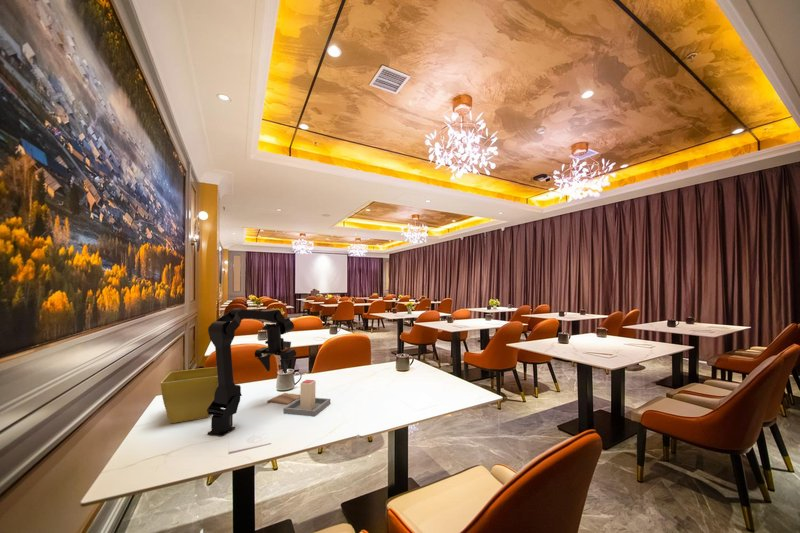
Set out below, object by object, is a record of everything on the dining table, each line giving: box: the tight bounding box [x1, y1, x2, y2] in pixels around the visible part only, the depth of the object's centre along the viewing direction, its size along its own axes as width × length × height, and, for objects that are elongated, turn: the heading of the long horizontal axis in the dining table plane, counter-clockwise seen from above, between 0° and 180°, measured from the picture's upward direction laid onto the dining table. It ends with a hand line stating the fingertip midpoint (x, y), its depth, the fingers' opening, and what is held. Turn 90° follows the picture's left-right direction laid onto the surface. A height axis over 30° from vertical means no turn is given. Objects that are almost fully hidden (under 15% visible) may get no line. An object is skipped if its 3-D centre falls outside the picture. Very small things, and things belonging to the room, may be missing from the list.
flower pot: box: [160, 366, 218, 424], centre depth 127 cm, size 19×19×17 cm
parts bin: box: [283, 397, 331, 417], centre depth 131 cm, size 14×14×2 cm
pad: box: [266, 392, 300, 406], centre depth 142 cm, size 11×11×1 cm
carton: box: [299, 379, 316, 410], centre depth 131 cm, size 4×4×11 cm
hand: (276, 371), depth 137 cm, fingers open, 9 cm apart
